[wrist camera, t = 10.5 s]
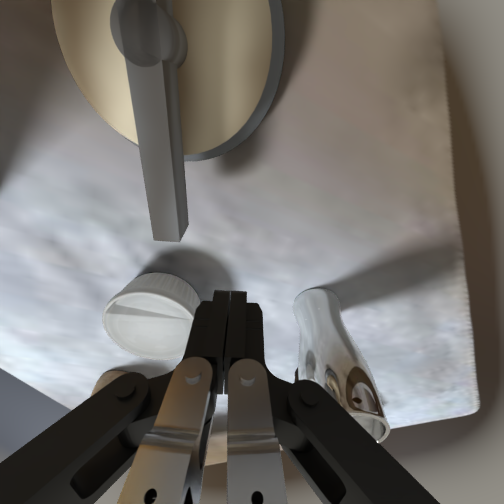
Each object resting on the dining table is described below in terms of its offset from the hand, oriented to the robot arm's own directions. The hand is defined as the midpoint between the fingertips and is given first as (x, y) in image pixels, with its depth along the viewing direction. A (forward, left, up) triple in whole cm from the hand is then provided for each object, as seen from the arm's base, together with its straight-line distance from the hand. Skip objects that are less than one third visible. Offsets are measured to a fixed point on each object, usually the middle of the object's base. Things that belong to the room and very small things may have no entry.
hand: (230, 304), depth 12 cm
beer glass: (-8, -16, -16) cm, 24 cm away
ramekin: (-18, +1, -17) cm, 25 cm away
